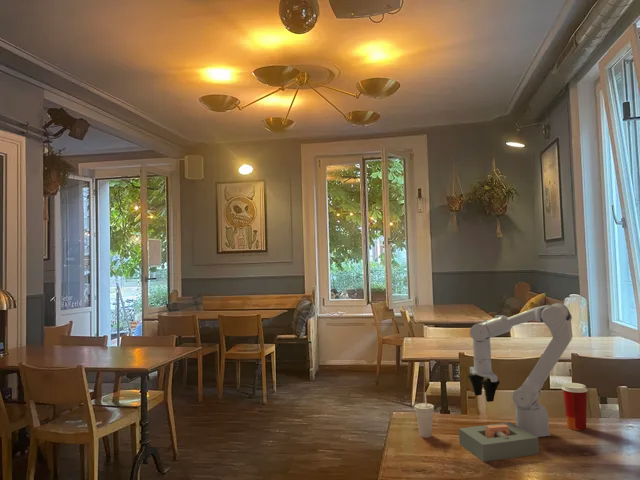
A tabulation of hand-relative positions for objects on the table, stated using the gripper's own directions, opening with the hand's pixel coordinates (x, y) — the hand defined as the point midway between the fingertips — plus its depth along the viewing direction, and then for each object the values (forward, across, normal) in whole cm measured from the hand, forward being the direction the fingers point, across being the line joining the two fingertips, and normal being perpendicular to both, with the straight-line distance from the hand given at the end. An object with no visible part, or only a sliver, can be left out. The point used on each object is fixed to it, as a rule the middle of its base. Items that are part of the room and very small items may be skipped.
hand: (484, 398), depth 173 cm
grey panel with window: (+9, +19, -7) cm, 22 cm away
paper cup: (+10, +11, +27) cm, 31 cm away
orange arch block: (+9, +19, -7) cm, 22 cm away
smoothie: (+10, +2, -23) cm, 25 cm away
